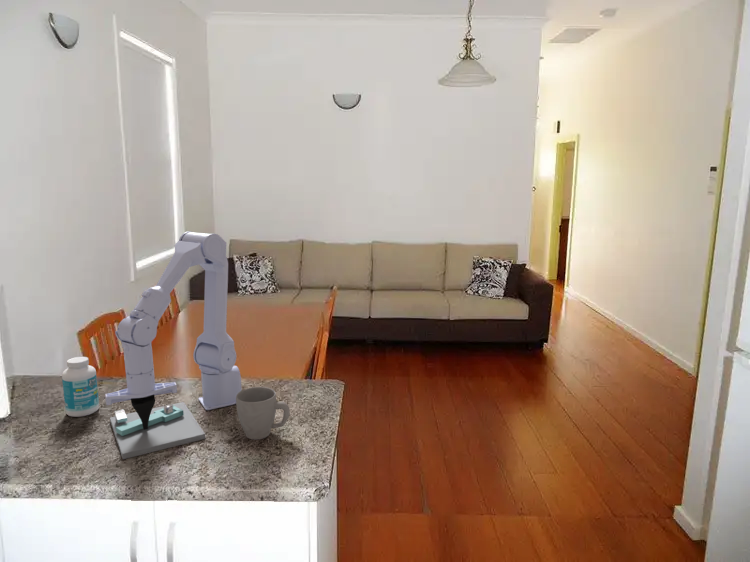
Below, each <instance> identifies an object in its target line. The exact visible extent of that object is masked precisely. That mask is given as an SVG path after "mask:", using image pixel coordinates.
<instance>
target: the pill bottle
mask: <svg viewBox="0 0 750 562" xmlns="http://www.w3.org/2000/svg"><path fill="white" fill-rule="evenodd" d="M89 364H90V360H89V357H87V356H75V357H72V358H69V359H67V361H66V366H67V368H65V369H64V370H63V372H62V373H61V380H62V381H61V382H62V390H63V397H64V398H63V400H64V408H65V414H67V415H68V416H69V417H75V418H79V417H85V416H89V415H92V414H94V413H96V412H97V411H98V410H99V408H100V401H99V391H98V390H99V388H98V379H97V371H96V368H95V367H94V366H92V365H89ZM67 415H66V416H67Z"/></svg>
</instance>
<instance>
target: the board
mask: <svg viewBox="0 0 750 562" xmlns="http://www.w3.org/2000/svg"><path fill="white" fill-rule="evenodd" d="M170 405H173V406H175V407H177V408H179V409H181V410H183V413H184V415H183V416H180V417H177V418H175V419H172V420H169V421H167V422H164V421H161V422H159V423H156V424H153V425H151V426H148V429H145V430H144V429H140V430H137V431H135V432H132V433H129V434H127V435H124V436H121V435H120V434H118V433H117V432H116V427H118V426H121V425H123V424H126V423H129V422H132V421H135V420H137V419H140V417H139V415H138V414H137V412H136V411H134V412H129V413H125V414H126V416H127V421H126V422H125V423H121V424H116V422H115V416H110V417H109V420H110V425H111V428H112V431H113V434H114V437H115V440H116V443H117V447H118V450H119V453H120V456H121V458H122V460H126V459H129V458H134V457H138V456H141V455H142V456H143V455H145V454H149V453H154V452H158V451H161V450H165V449H166V450H167V449H170V448H174V447H178V446H182V445H185V444H190V443H193V442H198V441H201V440H205V439H206V433H205V431H204V430H203V428H202V427H201V425H200V424H199V423H198V421H197V419H196V418H195V416H194V415H193V413H192V412H191V410H190V409H189V407H187V405H186V403H185V402H184V401H181V402H177V403H171V404H170ZM164 406H165V405H162V406H157V407H153V408H152V411H151V414H154V411H157V410H160V409H162V408H164ZM151 414H150V415H151Z"/></svg>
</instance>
